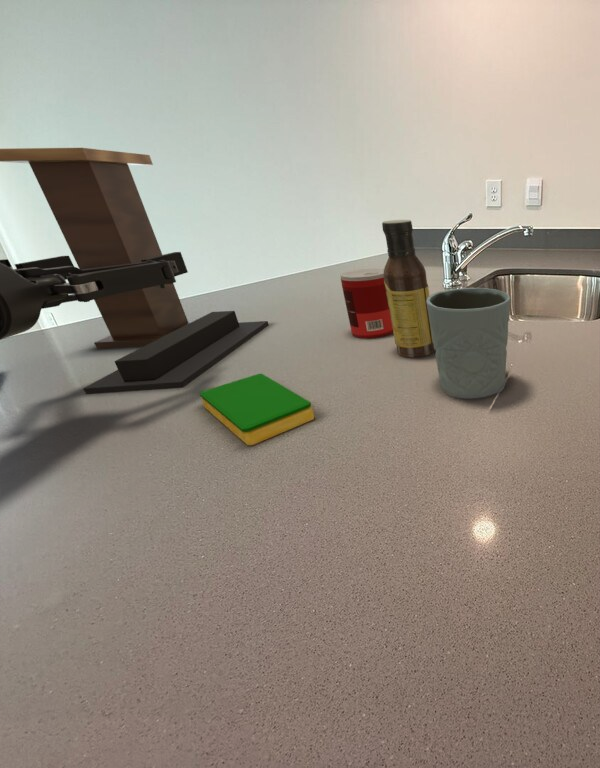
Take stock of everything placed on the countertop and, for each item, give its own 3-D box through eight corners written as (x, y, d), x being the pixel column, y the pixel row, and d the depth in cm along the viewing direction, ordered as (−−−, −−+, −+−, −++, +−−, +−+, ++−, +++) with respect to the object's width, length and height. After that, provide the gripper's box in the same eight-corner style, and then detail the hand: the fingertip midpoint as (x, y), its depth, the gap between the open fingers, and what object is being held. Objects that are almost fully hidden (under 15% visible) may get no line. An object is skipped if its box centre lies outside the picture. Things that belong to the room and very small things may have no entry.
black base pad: (184, 389, 55) (180, 381, 54) (87, 396, 54) (82, 388, 53) (269, 326, 80) (267, 320, 79) (204, 330, 79) (202, 324, 78)
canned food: (405, 329, 77) (396, 269, 72) (376, 342, 70) (364, 278, 65) (373, 324, 80) (363, 267, 75) (343, 337, 73) (329, 275, 68)
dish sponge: (250, 449, 42) (242, 429, 41) (204, 409, 50) (197, 391, 49) (316, 420, 47) (311, 402, 46) (266, 388, 55) (260, 372, 54)
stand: (166, 348, 70) (81, 147, 57) (89, 353, 69) (-15, 148, 55) (210, 324, 82) (149, 154, 69) (146, 327, 81) (72, 156, 68)
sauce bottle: (413, 344, 69) (396, 218, 60) (444, 349, 67) (430, 218, 58) (387, 357, 64) (365, 221, 55) (419, 363, 62) (400, 222, 53)
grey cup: (470, 365, 60) (464, 284, 55) (527, 381, 55) (527, 293, 50) (419, 391, 53) (407, 300, 48) (479, 412, 48) (473, 312, 42)
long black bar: (155, 379, 55) (146, 359, 54) (123, 381, 55) (113, 361, 54) (239, 326, 77) (234, 310, 75) (217, 327, 76) (211, 311, 75)
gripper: (-183, 354, 36) (38, 296, 55) (125, 338, 38) (234, 288, 57) (-255, 267, 33) (6, 237, 52) (87, 255, 35) (216, 231, 54)
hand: (127, 264), depth 54 cm, fingers open, 13 cm apart
